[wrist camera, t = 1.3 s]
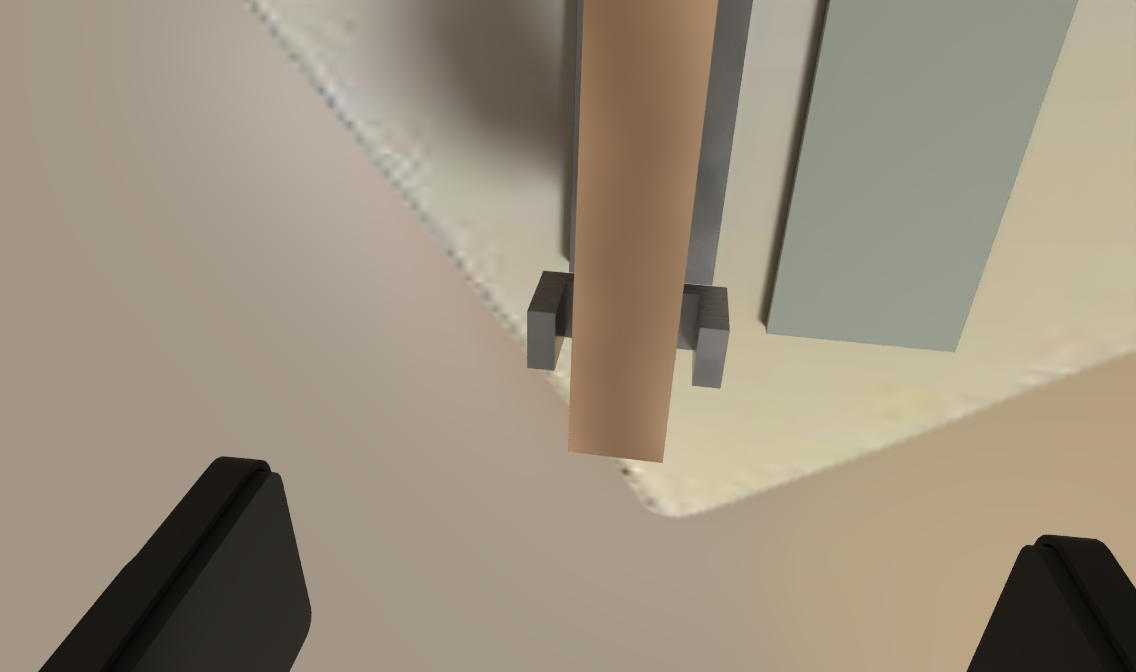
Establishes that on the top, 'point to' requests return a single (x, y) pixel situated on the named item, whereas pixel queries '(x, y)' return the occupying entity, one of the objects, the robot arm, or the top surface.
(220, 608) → the robot arm
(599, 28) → the rail
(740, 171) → the top surface
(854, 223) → the mat
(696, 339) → the stand
